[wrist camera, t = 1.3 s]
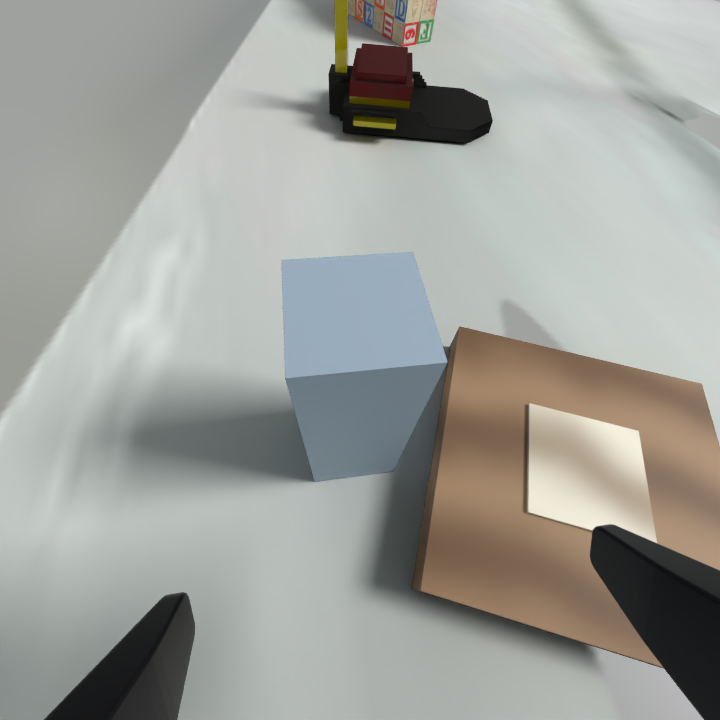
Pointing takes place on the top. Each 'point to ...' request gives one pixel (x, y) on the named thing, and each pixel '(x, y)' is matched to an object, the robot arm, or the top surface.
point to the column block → (358, 358)
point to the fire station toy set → (397, 94)
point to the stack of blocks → (397, 18)
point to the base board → (560, 483)
